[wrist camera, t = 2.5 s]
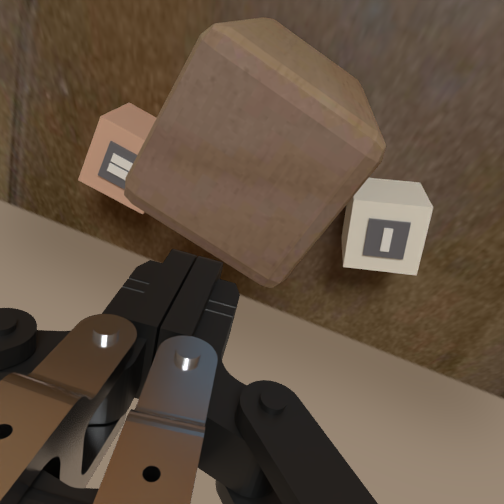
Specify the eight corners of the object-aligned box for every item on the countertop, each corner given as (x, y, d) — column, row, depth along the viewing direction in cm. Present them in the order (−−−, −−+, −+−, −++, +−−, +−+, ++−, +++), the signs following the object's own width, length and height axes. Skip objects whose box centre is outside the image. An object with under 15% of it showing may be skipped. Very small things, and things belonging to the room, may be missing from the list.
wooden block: (296, 182, 43) (273, 301, 25) (202, 118, 42) (109, 199, 24) (367, 85, 39) (398, 150, 21) (264, 11, 37) (206, 13, 20)
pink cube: (189, 136, 43) (168, 155, 37) (164, 190, 45) (141, 216, 40) (129, 102, 42) (98, 117, 36) (107, 159, 45) (76, 181, 39)
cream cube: (420, 182, 42) (434, 209, 36) (406, 243, 44) (417, 277, 39) (350, 175, 42) (354, 201, 37) (341, 236, 45) (343, 268, 39)
